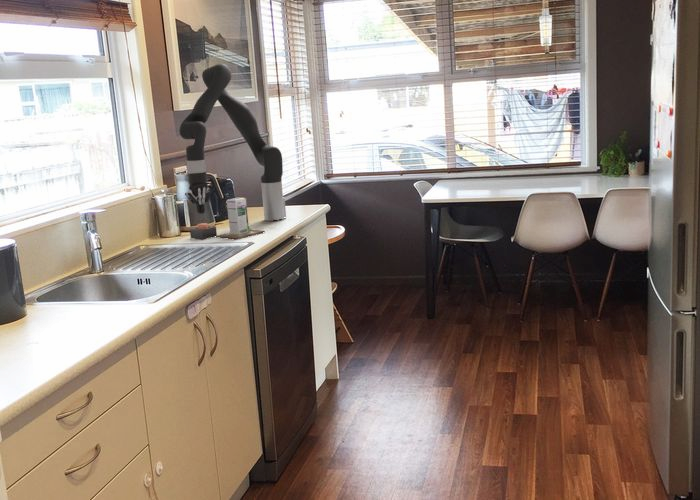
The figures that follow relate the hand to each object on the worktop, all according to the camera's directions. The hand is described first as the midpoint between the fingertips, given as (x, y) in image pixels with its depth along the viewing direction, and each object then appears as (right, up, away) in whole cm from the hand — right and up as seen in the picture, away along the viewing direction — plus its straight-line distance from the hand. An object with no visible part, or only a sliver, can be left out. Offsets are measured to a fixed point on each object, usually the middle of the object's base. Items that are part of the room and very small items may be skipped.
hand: (201, 213), depth 315 cm
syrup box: (+16, -8, +2) cm, 18 cm away
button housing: (+1, -10, +2) cm, 10 cm away
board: (+16, -9, +2) cm, 18 cm away
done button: (+1, -7, +2) cm, 8 cm away
